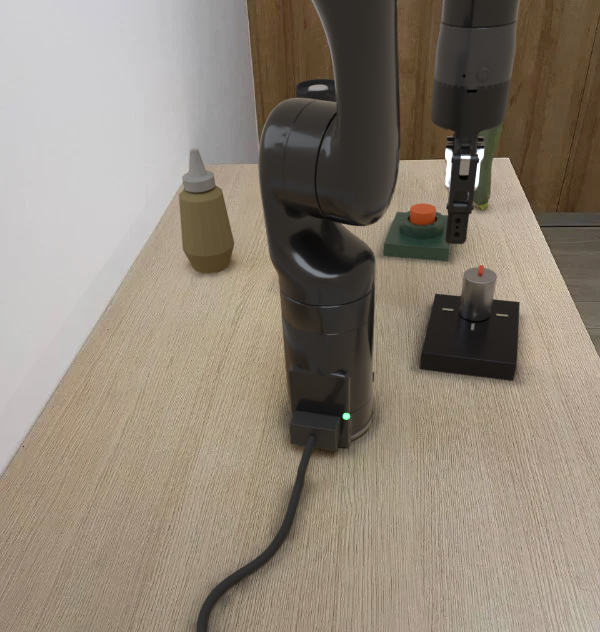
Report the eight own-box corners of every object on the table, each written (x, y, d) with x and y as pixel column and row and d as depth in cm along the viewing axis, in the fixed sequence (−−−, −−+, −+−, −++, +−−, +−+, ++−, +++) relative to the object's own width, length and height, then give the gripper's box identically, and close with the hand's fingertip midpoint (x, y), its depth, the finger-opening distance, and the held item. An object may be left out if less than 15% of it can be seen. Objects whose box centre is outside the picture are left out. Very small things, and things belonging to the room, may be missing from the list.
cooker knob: (489, 322, 80) (496, 282, 77) (457, 319, 81) (462, 279, 78) (491, 306, 83) (498, 266, 80) (460, 303, 84) (465, 263, 81)
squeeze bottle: (243, 271, 99) (229, 153, 88) (193, 282, 97) (172, 163, 86) (228, 249, 105) (213, 136, 94) (180, 260, 103) (159, 146, 92)
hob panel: (513, 381, 75) (517, 362, 74) (419, 369, 78) (421, 351, 76) (516, 317, 86) (520, 300, 84) (433, 308, 88) (435, 291, 87)
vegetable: (463, 211, 112) (478, 88, 99) (466, 201, 115) (480, 81, 102) (489, 213, 111) (507, 89, 98) (491, 203, 114) (509, 81, 101)
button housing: (447, 261, 98) (450, 237, 96) (383, 256, 101) (384, 232, 98) (455, 228, 107) (458, 205, 105) (396, 223, 109) (397, 201, 107)
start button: (433, 227, 100) (434, 214, 98) (407, 225, 101) (408, 212, 99) (436, 216, 103) (437, 204, 101) (411, 214, 104) (412, 202, 102)
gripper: (436, 55, 69) (426, 199, 80) (431, 93, 59) (419, 253, 69) (508, 54, 68) (488, 201, 79) (516, 93, 57) (490, 256, 68)
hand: (455, 225), depth 74 cm, fingers open, 8 cm apart
